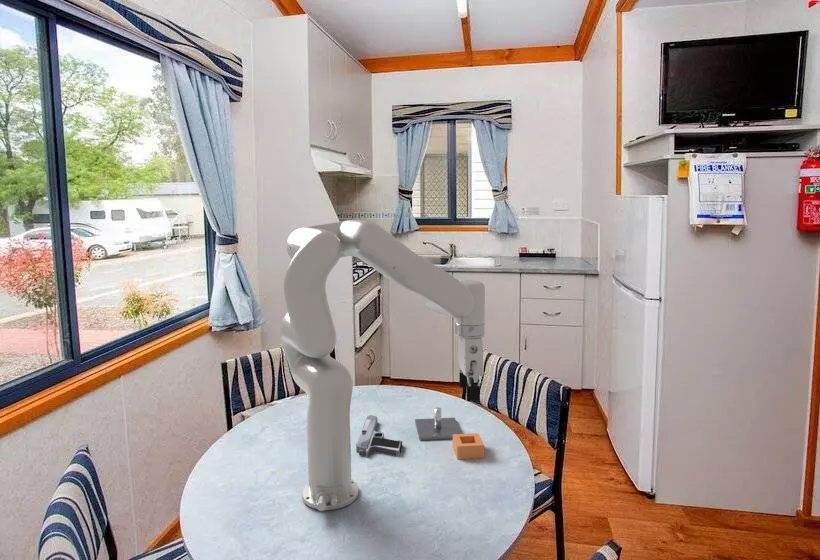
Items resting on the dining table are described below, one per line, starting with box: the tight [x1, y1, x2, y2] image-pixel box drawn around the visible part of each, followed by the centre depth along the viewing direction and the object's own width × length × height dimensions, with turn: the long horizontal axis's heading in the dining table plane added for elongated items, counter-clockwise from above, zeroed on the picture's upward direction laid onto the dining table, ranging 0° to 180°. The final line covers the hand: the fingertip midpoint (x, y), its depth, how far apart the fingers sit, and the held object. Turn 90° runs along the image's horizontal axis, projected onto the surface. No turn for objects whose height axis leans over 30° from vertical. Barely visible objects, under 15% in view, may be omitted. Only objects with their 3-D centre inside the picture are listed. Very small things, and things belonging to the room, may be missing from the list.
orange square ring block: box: [452, 432, 485, 460], centre depth 140 cm, size 7×7×4 cm
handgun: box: [355, 414, 403, 458], centre depth 148 cm, size 2×22×12 cm
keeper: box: [414, 406, 463, 441], centre depth 153 cm, size 12×12×6 cm
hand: (469, 393), depth 137 cm, fingers open, 9 cm apart
